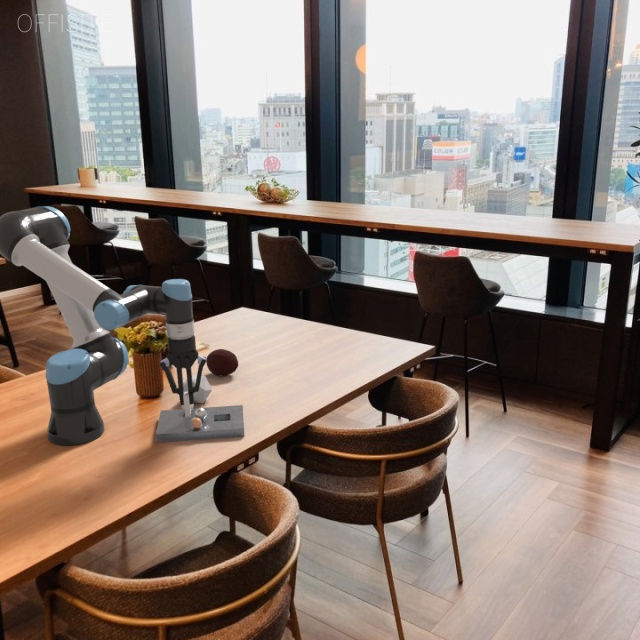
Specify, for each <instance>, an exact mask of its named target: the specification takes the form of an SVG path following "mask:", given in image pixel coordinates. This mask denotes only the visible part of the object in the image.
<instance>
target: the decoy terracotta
mask: <svg viewBox="0 0 640 640" xmlns="http://www.w3.org/2000/svg"><path fill="white" fill-rule="evenodd" d="M201 425H202V421H201V419H199V418H194V419H193V420H192V421H191V426H192V427H193V428H195V429H197V428H200V427H201Z"/></svg>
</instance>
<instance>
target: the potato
mask: <svg viewBox="0 0 640 640" xmlns="http://www.w3.org/2000/svg"><path fill="white" fill-rule="evenodd" d="M205 364H206V366H207V369H208V371H209V372H210V373H211V374H212V375H215V376H218V377H225V376H229V375H232V374H233V373H235V372H236V371H237V370H238V367H239V360H238V358H237V356H236V354H235V353H234V352H232V351H230V350H228V349H225V348H224V349H223V348H217V349H215V350H213V351H211V352H210V353H208V355H207V356H206V363H205Z"/></svg>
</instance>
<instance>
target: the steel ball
mask: <svg viewBox="0 0 640 640" xmlns="http://www.w3.org/2000/svg"><path fill="white" fill-rule="evenodd" d="M197 408H198V409H197V410H196V411H195V417H196V418H199V419H201V420H203V419H204V418H205V417H206V415H207V412H206V410H205V409H203V408H204V407H197Z"/></svg>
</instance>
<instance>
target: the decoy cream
mask: <svg viewBox="0 0 640 640" xmlns="http://www.w3.org/2000/svg"><path fill="white" fill-rule="evenodd" d="M190 406H191V410H192V409H193V408H194V403H193V404H191V405H190ZM181 409H183V410H184V411H185V409H184V405H181Z"/></svg>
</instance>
